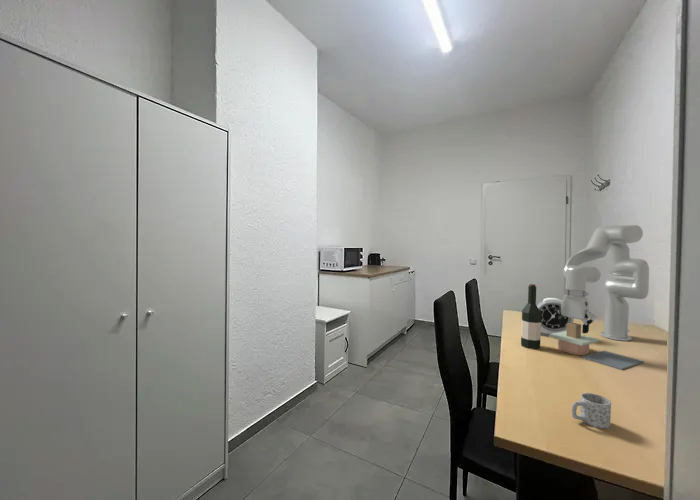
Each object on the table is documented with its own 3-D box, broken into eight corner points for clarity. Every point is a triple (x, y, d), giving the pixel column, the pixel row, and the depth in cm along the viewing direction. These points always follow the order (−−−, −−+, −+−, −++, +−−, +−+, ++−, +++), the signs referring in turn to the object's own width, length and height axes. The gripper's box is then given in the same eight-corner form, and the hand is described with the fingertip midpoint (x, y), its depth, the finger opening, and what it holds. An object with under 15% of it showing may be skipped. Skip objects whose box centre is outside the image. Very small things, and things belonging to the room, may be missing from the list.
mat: (604, 351, 143) (604, 350, 143) (643, 362, 131) (643, 361, 131) (582, 357, 135) (582, 356, 135) (621, 370, 123) (621, 368, 123)
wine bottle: (544, 349, 145) (546, 285, 144) (526, 349, 145) (528, 285, 144) (534, 343, 153) (536, 283, 152) (517, 343, 153) (519, 283, 152)
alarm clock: (532, 335, 167) (534, 298, 166) (531, 331, 174) (533, 295, 174) (573, 340, 159) (574, 301, 158) (570, 336, 166) (572, 298, 165)
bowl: (566, 344, 152) (567, 333, 152) (594, 352, 142) (594, 340, 141) (552, 348, 147) (553, 336, 147) (579, 356, 136) (580, 344, 136)
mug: (596, 415, 91) (597, 392, 90) (616, 429, 84) (617, 405, 84) (563, 415, 90) (564, 393, 90) (580, 429, 84) (581, 405, 83)
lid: (566, 332, 153) (566, 318, 153) (599, 341, 141) (599, 326, 141) (548, 336, 147) (549, 321, 147) (581, 345, 135) (582, 329, 134)
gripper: (601, 296, 137) (599, 334, 138) (560, 290, 153) (558, 324, 153) (591, 297, 134) (590, 336, 134) (551, 290, 149) (549, 326, 150)
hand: (573, 330), depth 144 cm, fingers open, 9 cm apart
